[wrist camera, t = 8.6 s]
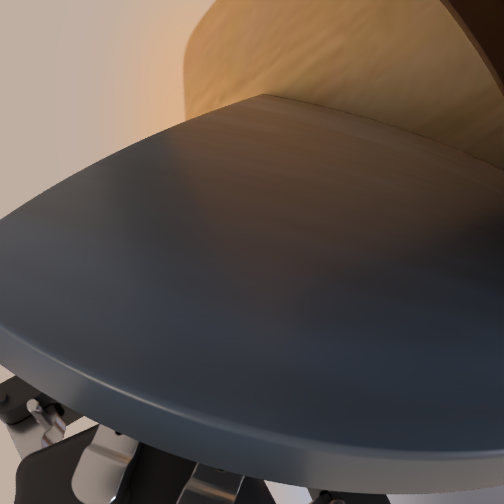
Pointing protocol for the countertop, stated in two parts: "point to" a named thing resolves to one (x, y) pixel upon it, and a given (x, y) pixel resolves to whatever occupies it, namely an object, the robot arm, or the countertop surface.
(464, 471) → the door
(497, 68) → the cupboard
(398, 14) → the countertop surface
